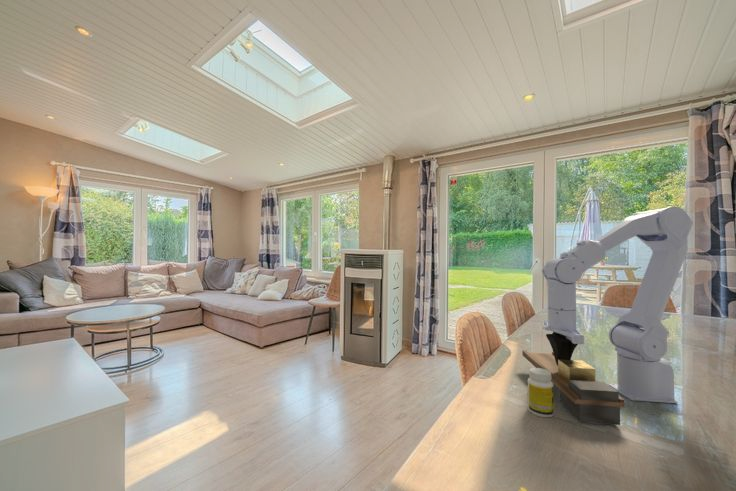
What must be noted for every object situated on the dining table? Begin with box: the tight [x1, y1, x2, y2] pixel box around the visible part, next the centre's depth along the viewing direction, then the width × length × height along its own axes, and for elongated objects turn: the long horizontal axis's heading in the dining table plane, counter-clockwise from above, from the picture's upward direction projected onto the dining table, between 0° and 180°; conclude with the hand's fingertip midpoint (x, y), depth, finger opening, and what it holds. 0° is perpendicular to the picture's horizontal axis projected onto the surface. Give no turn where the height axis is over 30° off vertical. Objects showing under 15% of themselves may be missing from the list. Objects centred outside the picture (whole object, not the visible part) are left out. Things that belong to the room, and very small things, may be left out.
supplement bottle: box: [527, 367, 555, 418], centre depth 63 cm, size 5×5×8 cm
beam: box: [522, 349, 626, 426], centre depth 72 cm, size 9×28×6 cm, turn 172°
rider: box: [558, 359, 596, 386], centre depth 66 cm, size 5×5×4 cm
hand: (562, 366), depth 72 cm, fingers closed
